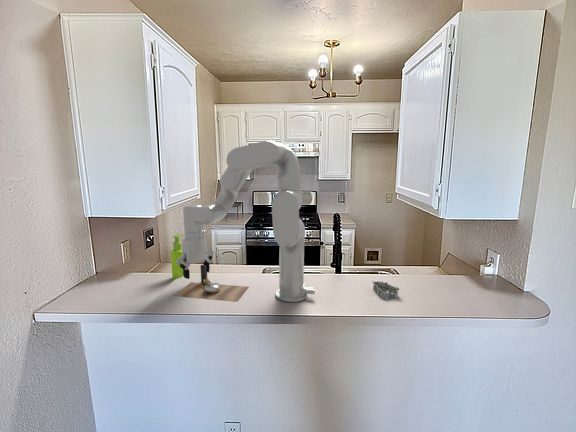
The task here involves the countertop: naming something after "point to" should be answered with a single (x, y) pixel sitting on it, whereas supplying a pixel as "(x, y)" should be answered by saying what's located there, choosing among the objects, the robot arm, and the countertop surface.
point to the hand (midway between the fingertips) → (197, 274)
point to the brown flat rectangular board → (224, 294)
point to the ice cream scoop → (209, 286)
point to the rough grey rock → (381, 289)
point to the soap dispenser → (176, 257)
